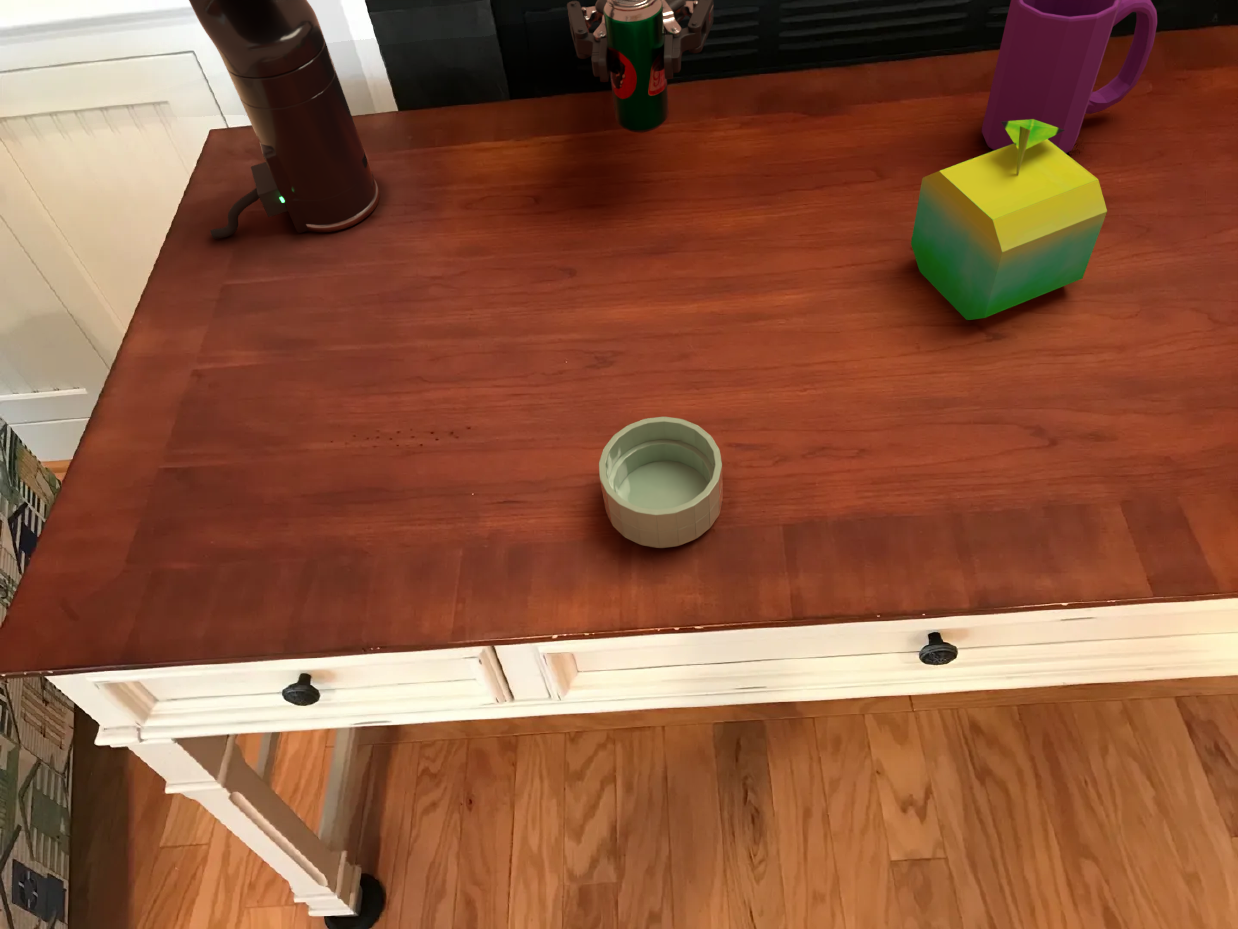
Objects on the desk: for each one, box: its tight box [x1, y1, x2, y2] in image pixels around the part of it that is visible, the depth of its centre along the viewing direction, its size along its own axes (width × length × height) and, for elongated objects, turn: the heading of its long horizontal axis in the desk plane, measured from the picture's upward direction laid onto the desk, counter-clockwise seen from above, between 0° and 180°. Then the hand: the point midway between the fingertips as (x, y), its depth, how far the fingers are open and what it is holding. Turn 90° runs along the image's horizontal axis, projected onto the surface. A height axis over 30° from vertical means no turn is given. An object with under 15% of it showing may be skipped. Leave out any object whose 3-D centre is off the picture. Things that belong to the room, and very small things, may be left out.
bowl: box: [598, 416, 724, 549], centre depth 74 cm, size 9×9×5 cm
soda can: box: [604, 0, 670, 134], centre depth 88 cm, size 5×5×12 cm
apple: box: [910, 119, 1108, 321], centre depth 82 cm, size 11×10×15 cm
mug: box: [981, 0, 1158, 154], centre depth 93 cm, size 9×16×15 cm, turn 106°
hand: (635, 70), depth 86 cm, fingers closed on soda can, 5 cm apart
